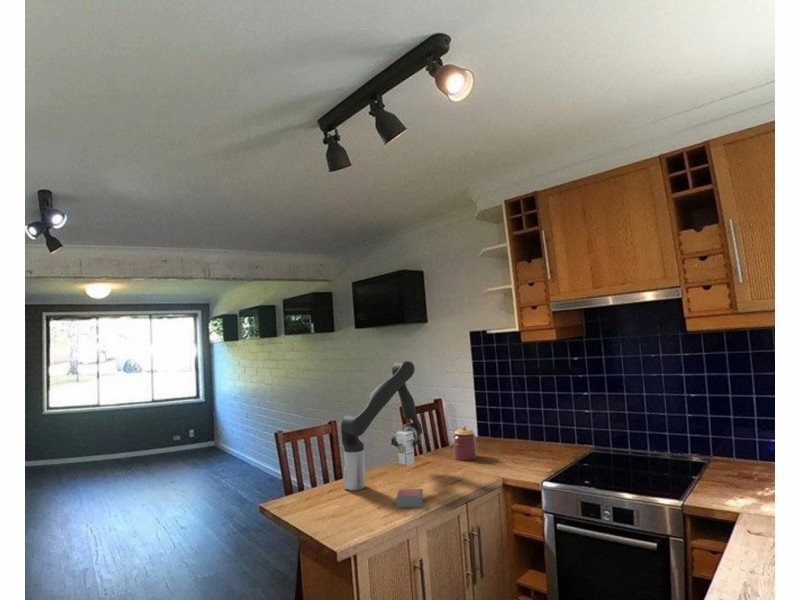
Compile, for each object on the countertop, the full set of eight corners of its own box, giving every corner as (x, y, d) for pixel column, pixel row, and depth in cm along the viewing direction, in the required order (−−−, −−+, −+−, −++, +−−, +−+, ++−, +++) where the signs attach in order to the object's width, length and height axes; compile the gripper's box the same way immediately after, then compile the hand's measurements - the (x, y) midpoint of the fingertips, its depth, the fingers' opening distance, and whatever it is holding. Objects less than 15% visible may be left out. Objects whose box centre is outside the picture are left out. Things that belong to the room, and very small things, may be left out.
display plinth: (396, 507, 187) (396, 496, 187) (399, 498, 197) (399, 488, 197) (421, 507, 186) (420, 496, 186) (422, 498, 196) (422, 488, 196)
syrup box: (414, 463, 209) (413, 430, 210) (406, 466, 204) (405, 433, 205) (405, 461, 213) (404, 429, 214) (397, 464, 208) (396, 431, 209)
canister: (470, 462, 248) (468, 429, 249) (449, 459, 255) (448, 427, 257) (481, 456, 258) (479, 424, 259) (461, 453, 266) (459, 422, 267)
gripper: (394, 428, 225) (389, 436, 208) (422, 428, 223) (420, 436, 207) (394, 444, 224) (389, 452, 208) (423, 444, 222) (420, 453, 206)
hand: (404, 444), depth 207 cm, fingers closed on syrup box, 7 cm apart
